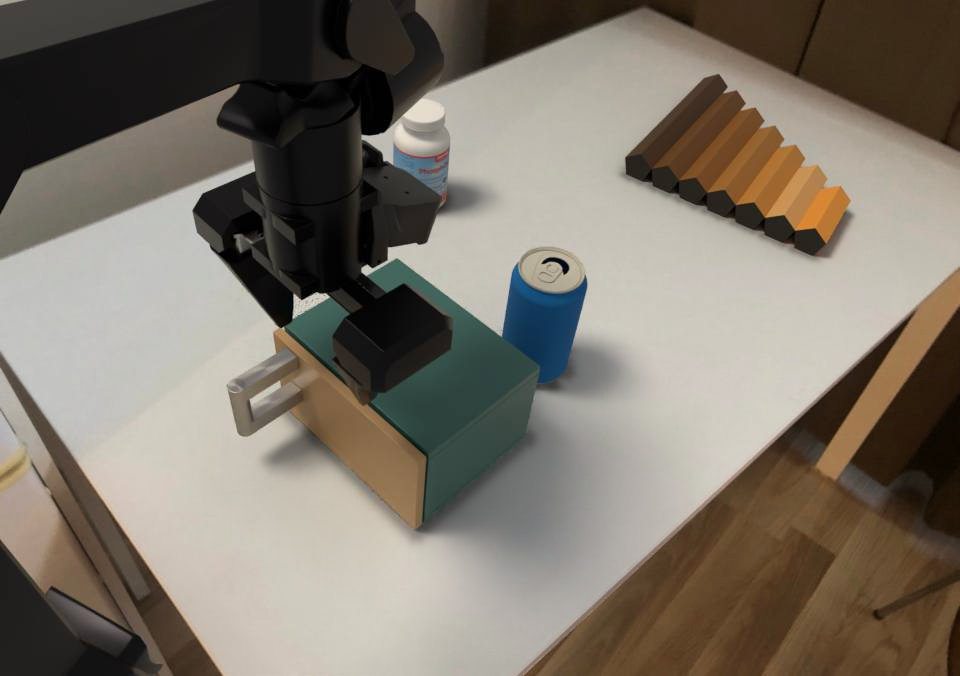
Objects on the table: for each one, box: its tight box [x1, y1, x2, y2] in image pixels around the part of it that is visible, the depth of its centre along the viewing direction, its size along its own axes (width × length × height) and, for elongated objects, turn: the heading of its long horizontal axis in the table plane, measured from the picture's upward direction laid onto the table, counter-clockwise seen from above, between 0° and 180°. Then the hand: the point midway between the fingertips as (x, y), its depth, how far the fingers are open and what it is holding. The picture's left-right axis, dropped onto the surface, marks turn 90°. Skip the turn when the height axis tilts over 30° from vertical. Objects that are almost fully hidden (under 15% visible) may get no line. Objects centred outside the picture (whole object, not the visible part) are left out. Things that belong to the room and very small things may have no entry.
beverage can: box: [501, 245, 589, 385], centre depth 70 cm, size 6×6×12 cm
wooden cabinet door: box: [226, 327, 426, 531], centre depth 61 cm, size 6×17×9 cm, turn 46°
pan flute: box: [624, 73, 852, 256], centre depth 99 cm, size 25×3×25 cm
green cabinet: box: [283, 257, 540, 523], centre depth 66 cm, size 12×17×10 cm
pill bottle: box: [392, 98, 451, 208], centre depth 86 cm, size 6×6×11 cm
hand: (324, 361), depth 55 cm, fingers open, 9 cm apart
